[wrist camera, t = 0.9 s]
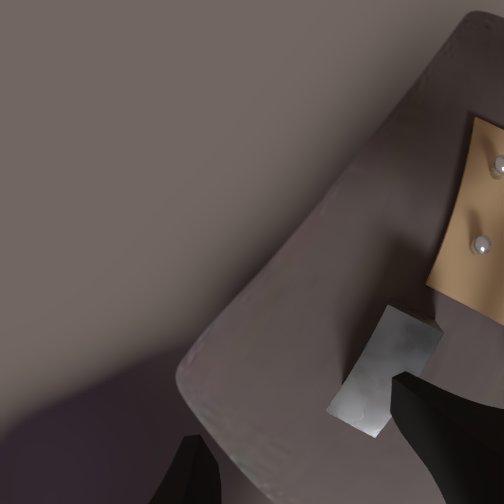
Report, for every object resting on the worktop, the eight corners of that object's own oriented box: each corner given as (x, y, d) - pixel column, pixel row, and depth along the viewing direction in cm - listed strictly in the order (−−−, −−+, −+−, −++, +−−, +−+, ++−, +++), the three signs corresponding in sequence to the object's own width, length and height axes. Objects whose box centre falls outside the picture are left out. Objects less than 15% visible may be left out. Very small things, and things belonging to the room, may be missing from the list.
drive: (435, 320, 18) (443, 333, 13) (382, 407, 19) (374, 437, 15) (390, 297, 20) (387, 304, 15) (342, 385, 21) (325, 410, 16)
